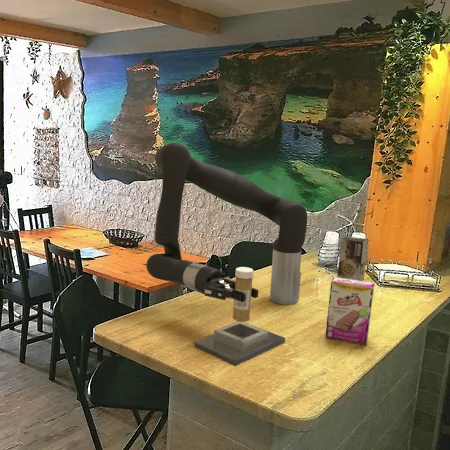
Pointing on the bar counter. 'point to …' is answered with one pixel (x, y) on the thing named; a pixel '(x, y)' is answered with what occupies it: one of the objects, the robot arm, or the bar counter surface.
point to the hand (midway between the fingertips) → (251, 296)
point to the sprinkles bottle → (245, 286)
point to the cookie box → (352, 258)
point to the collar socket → (238, 342)
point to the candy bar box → (349, 310)
